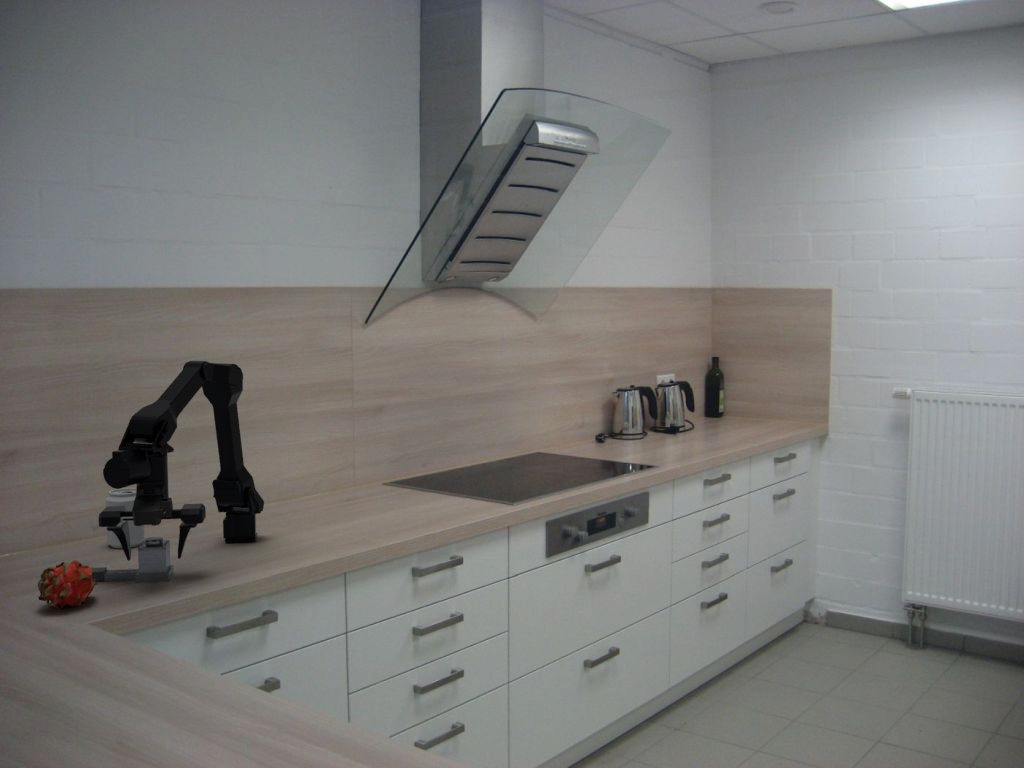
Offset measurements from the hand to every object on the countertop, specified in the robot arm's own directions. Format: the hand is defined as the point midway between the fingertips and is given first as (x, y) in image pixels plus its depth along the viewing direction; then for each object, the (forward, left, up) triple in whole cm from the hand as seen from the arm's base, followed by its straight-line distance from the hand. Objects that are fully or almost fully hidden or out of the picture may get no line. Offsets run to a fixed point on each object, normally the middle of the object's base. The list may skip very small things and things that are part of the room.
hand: (154, 559), depth 193 cm
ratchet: (+7, 0, -4) cm, 8 cm away
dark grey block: (0, 0, -2) cm, 2 cm away
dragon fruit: (+12, +15, -4) cm, 20 cm away
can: (+10, -26, -4) cm, 28 cm away
